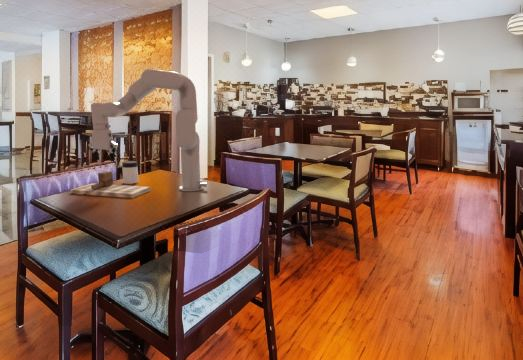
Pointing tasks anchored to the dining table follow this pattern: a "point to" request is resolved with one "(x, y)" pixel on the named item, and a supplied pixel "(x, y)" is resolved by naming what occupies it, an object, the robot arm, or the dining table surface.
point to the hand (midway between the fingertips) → (104, 160)
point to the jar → (130, 172)
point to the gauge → (103, 180)
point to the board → (112, 190)
